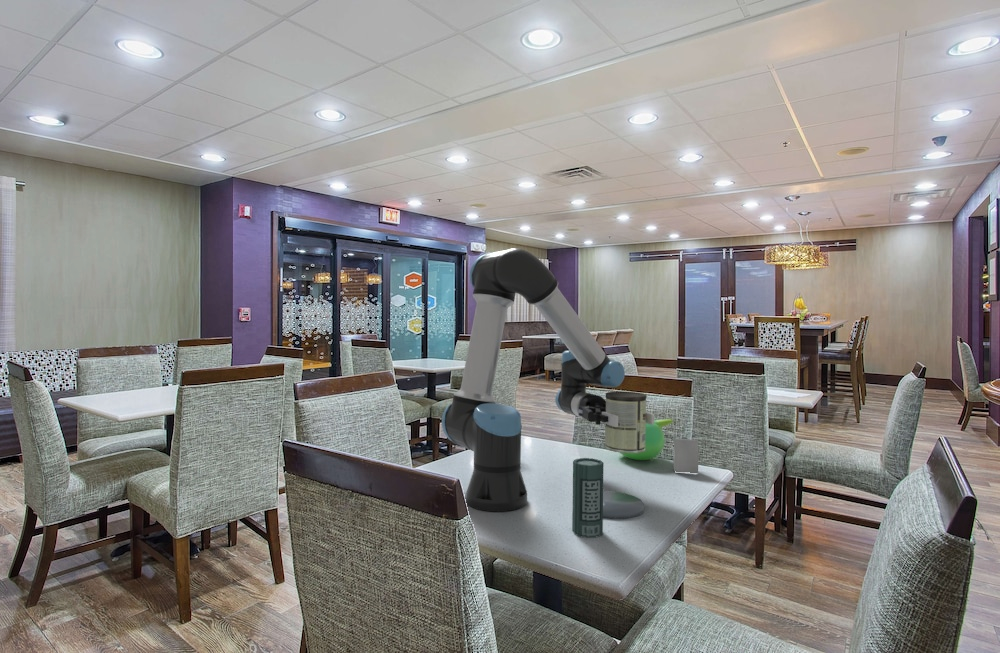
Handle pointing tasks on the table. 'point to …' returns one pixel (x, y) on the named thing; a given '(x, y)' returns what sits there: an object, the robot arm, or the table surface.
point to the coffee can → (626, 422)
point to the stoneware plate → (621, 505)
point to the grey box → (685, 455)
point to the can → (587, 497)
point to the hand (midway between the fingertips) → (635, 420)
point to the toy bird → (651, 441)
